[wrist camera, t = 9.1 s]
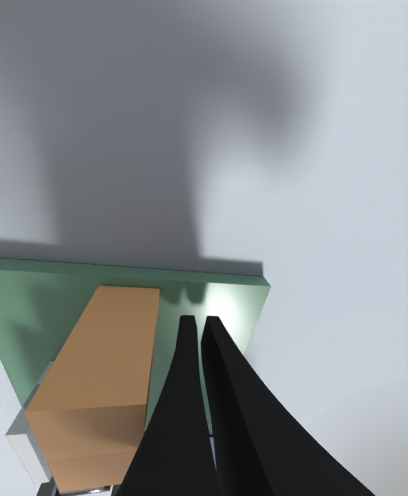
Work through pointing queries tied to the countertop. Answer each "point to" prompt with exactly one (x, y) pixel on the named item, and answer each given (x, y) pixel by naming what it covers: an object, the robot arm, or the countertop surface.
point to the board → (73, 305)
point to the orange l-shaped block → (98, 390)
